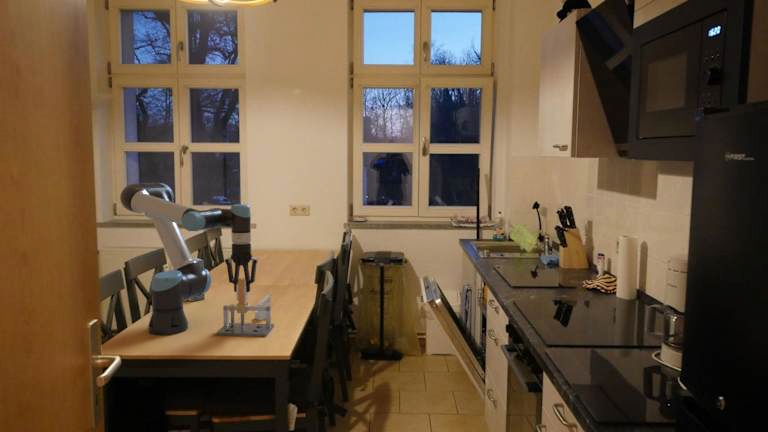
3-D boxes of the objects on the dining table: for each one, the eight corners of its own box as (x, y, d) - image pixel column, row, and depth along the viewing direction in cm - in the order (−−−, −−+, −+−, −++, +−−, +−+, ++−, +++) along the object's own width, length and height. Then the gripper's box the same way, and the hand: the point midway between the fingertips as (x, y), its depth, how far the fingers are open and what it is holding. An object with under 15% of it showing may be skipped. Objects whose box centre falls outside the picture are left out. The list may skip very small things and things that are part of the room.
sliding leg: (237, 326, 222) (236, 279, 220) (239, 324, 226) (238, 277, 224) (245, 327, 222) (245, 280, 220) (248, 324, 226) (247, 278, 224)
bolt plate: (216, 335, 216) (216, 332, 216) (226, 325, 229) (226, 322, 229) (266, 336, 215) (266, 333, 215) (274, 326, 228) (274, 323, 228)
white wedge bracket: (278, 309, 245) (270, 295, 241) (262, 325, 239) (254, 310, 235) (273, 308, 247) (265, 293, 243) (257, 323, 241) (249, 308, 237)
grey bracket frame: (223, 327, 223) (223, 305, 222) (225, 325, 226) (224, 304, 225) (269, 328, 222) (269, 306, 222) (270, 326, 225) (270, 304, 224)
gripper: (219, 243, 217) (220, 301, 219) (257, 244, 217) (258, 302, 219) (225, 241, 225) (226, 297, 227) (262, 241, 224) (263, 297, 226)
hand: (242, 299), depth 223 cm, fingers closed on sliding leg, 2 cm apart
